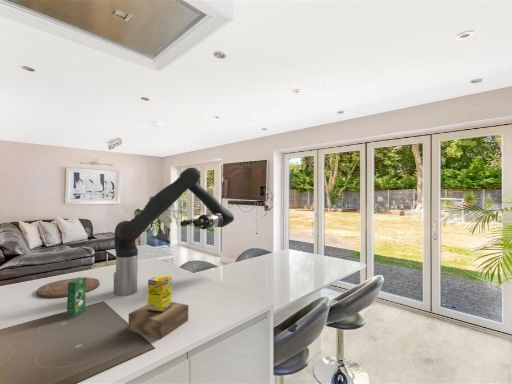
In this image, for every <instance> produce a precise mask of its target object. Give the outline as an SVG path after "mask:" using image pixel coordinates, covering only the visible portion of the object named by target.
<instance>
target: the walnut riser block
mask: <svg viewBox="0 0 512 384" xmlns="http://www.w3.org/2000/svg"><path fill="white" fill-rule="evenodd" d="M147 306H148V304H146V305H144V306H142V307H140V308H137V309H135V310H134V311H133V310H132V311H131V312H129V313H128V327H127V328H128V331H129V332H134V333H137V334H141V335H145V336H149V337H153V338H156V339H160V340H162V339H163V338H165V337H166V336H168V335H169V334H171V333H172V332H173V331H175V330H177V329H179V327H181V326H182V325H184V324H185V323H187V322H188V321H189V304H184V303H178V302H174V301H171V307H170V308H168V309H167V310H165V311H164V312H163V313H157V312H149V311H147Z"/></svg>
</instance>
